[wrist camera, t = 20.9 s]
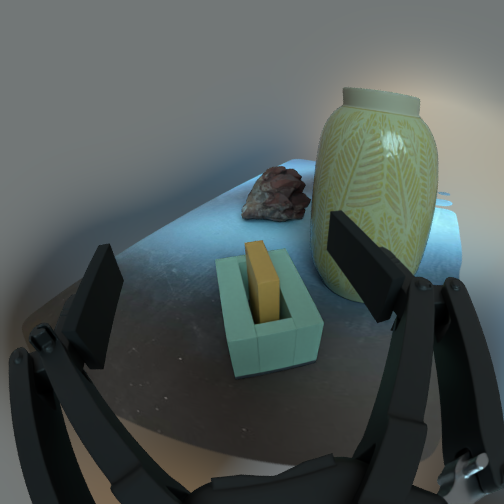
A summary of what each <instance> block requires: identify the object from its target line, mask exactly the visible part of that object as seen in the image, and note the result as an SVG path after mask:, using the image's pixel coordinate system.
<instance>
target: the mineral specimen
mask: <svg viewBox="0 0 504 504" xmlns="http://www.w3.org/2000/svg"><path fill="white" fill-rule="evenodd" d="M301 178H302V176H301V175H299V174H298V172H297V171H295V170H294V169H286V168H285V167H283V166H278V167H272V168H269V169H267V170H266V172H265V173H263V174H262V176H261V177H260V178H259V179H258V180H257V181H256V183H255V184H254V186H253V188H252V190H251V192H250V193H249V195H248V198H247V200H246V204H245V205H244V206H243V207H242V214H241V216H242V218H245V219H250V218H253V219H269V220H273V221H279V222H282V221H286V220H288V219H302V217H303V216H304V213H305V209H304V208H306V207H308V205H309V203H310V201H311V199H309V198H308V197H307V196H306V195H305V194H304V193H302V192H303V189H304V188H305V186H306V184H305V183H304V182H303V181H301Z"/></svg>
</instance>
